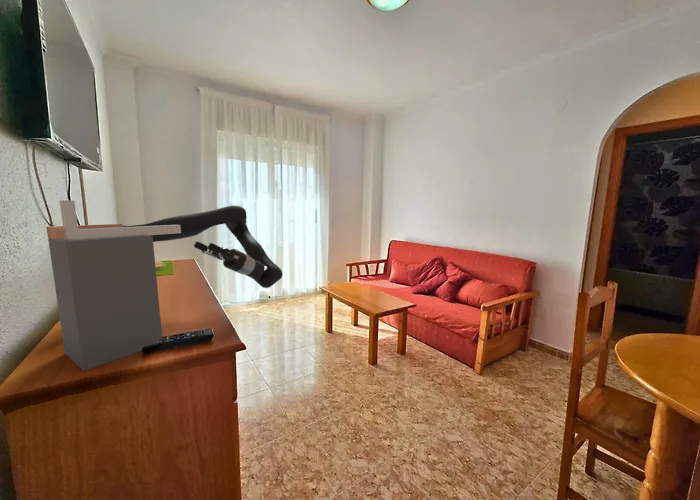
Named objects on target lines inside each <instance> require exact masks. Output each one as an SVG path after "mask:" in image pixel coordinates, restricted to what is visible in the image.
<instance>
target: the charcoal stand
mask: <svg viewBox="0 0 700 500" xmlns="http://www.w3.org/2000/svg"><path fill="white" fill-rule="evenodd" d="M122 225H123V223H110V224H83V225H81V224H80V225H79V224H78V229H93V228H115V227H123V226H122ZM46 234H47V239H48V247H49V248H48V249H49V253H50V254H49V255H50V261H51V266H52V274H53V281H54V288H55V295H56V301H57V308H58V309H57V310H58V315H59V316H58V317H59V322H60V323H59V324H60V330H61V335H62V343H63V350H64V354H65V355H66V356H67V357H68V358H69V359H70V360H71V361H72V362H73V363H74V364H75V365H77V366H78V368H79V369H81V371H83V372H85V371H88V370H91V369H94V368H96V367H100V366H102V365H105V364H108V363H111V362H113V361H114V362H115V361H117V360H120V359H123V358H125V357H126V358H127V357H129V356H131V355H135V354H137V353H140V352H143V351H142V348H143V347H144V346H146V345H148V344H151V343H153V342H156V341H159V340H161V339H162V340H163V332H162V321H161V311H160V299H159V291H158V277H157V268H156V267H157V266H156V258H155V246H154V242H153V236H150V235H147V236H132V237H117V238H102V239H87V240H72V241H67V240H65V237H64V230H63V225H57V226H56V225H52V226H51V225H50V226H49V225H48V226H46Z"/></svg>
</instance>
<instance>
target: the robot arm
mask: <svg viewBox="0 0 700 500" xmlns="http://www.w3.org/2000/svg"><path fill="white" fill-rule="evenodd" d="M247 218H248V217H247V211H246V208H245V207H243V206H241V205H238V204H237V205H235V204H234V205H228V206H224V207H220V208H217V209H211V210H207V211H201V212H196V213H189V214H182V215H176V216H171V217H166V218H163V219H159V220H156V221H152V222H148V223H143V224H142V223H141V224H133V225H125V224H122V226H123V227H138V226H161V225H180V227H181V233H176V234H161V235H150V236H153V243H155V242H165V241H166V242H168V241H175V240H182V239H187V238H191V237H195V236H197V235H199V234H201V233H203V232H205V231H206V230H208V229H209V228H212V227H216V226H219V225H225V226H226V228H227V229H228V230H229V231H230V233H232V235H233V236H234V237H235V238H236V239H237V241H238V242H239V244H240V245H241V247H242V248H243V251H244V252H245V253H244V252H242V251H240V250H239V249H236V248H232V249H229V248H226V247H222V246H219V245H216V244H215V243H212V242H210V243H209V244H208V245H207V244H204V243H203V242H201V241H195V243H194V245H193V247H194V248H195V249H197V250H199V251H201V253H202V254H205V255H207V256H210V257H212V258H214V259H216V260H219V261H222V263H223V266H224V268H226V269H229V270H231V271H233V272H236V273H238V274H241V275H245V276H246V277H248V278H251V279H252V280H254V281H255V282H256V283H257V284H258V285H259V286H260V287H262V288H264V289H268V288H271V287H272V286H273V285H275V284H276V283H277V282H279V281H280V280H281V279H282V278H283V271H282V269H281V268H280V267H279V266H278V265H277V264H276V263H275V262H274V261H273V260H272V259H271V258H270V257H269V256H268V254H267V252H266V251H265V249H264V247H263V246H262V245H261V244H260V242H258V240H257V239H255V237H254V236H253V235H252V233H251V232H250V229H249V228H248V225H247ZM265 267H266V268H265Z"/></svg>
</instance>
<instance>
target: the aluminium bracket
mask: <svg viewBox="0 0 700 500" xmlns="http://www.w3.org/2000/svg"><path fill="white" fill-rule="evenodd" d="M59 206H60V214H61V220H62V226H63V230H64V237H65V240H67V241H72V240H87V239H102V238H117V237H132V236H147V235H161V234H176V233H181V227H180V225H161V226H138V227H115V228H93V229H78V225H79V224H78V219H77V218H78V216H77V210H76V202H75V200H71V199H69V200H68V199H67V200H66V199H65V200H64V199H63V200H62V199H61V200H59Z"/></svg>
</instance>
